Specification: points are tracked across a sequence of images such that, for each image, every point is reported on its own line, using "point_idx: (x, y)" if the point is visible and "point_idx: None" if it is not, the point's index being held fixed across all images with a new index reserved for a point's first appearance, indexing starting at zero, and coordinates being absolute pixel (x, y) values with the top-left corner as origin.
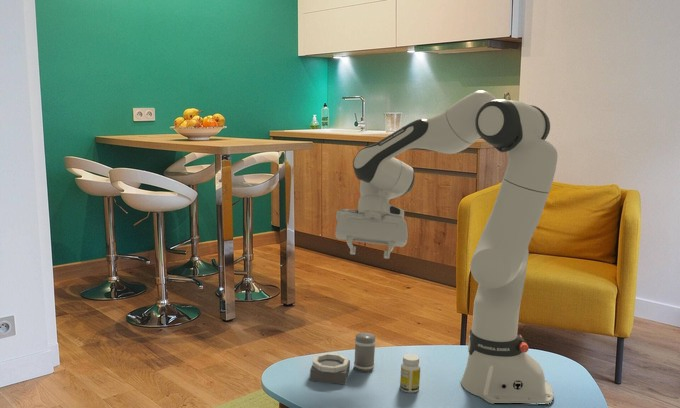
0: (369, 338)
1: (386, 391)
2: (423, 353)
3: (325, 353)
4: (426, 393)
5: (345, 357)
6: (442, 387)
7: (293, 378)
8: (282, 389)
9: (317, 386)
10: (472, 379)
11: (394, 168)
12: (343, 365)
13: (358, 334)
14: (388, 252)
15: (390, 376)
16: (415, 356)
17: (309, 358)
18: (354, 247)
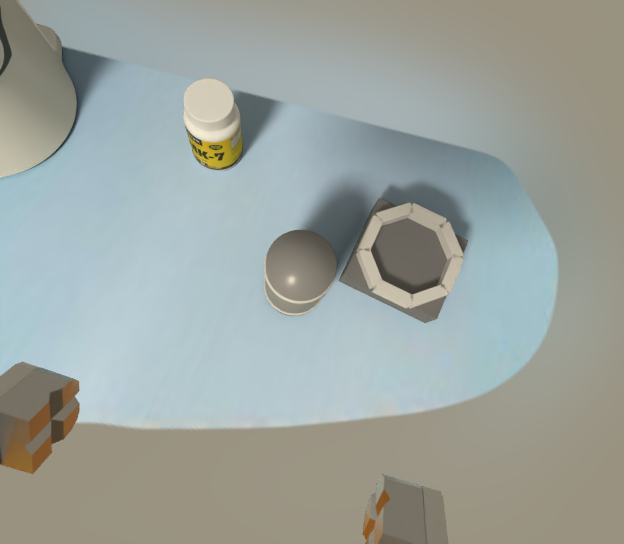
0: (293, 243)
1: (281, 152)
2: (58, 351)
3: (417, 302)
4: None
5: (364, 261)
6: (128, 136)
7: (493, 271)
8: (525, 221)
9: None
10: (52, 72)
11: None
12: (384, 212)
13: (321, 285)
14: (7, 388)
15: (238, 224)
16: (193, 99)
17: (432, 387)
18: (401, 526)
